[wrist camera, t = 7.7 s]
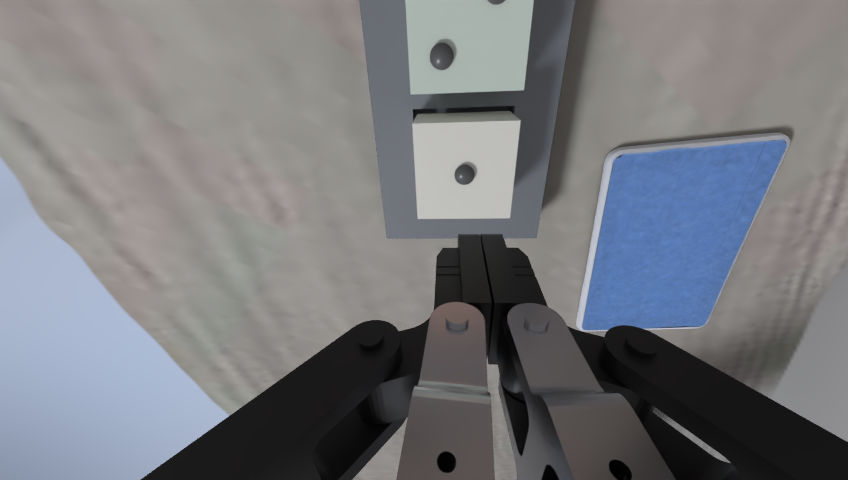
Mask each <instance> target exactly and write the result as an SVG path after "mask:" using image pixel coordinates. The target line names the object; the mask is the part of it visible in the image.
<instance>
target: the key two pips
mask: <svg viewBox="0 0 848 480" xmlns="http://www.w3.org/2000/svg"><path fill="white" fill-rule="evenodd" d="M533 3H534V0H405V4H406V22H407V40H408V58H409V75H410V93H411V95H413V94H439V93H466V92H492V91H519V90H524V86H525V76H526V67H527V58H528V49H529V40H530V31H531V22H532V12H533Z"/></svg>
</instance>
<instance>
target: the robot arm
mask: <svg viewBox="0 0 848 480" xmlns="http://www.w3.org/2000/svg"><path fill="white" fill-rule="evenodd" d="M487 357H488V364H498V367H499V373H500V377H499V386H498V389H499V395H500V399H501V403H502V407H503V411H504V416H505V420H506V424H507V428H508V433H509V437H510V441H511V445H512V450H513V454H514V458H515V463H516V471H517V480H848V442H846V441H844V440H843V439H841V438H839V437H837V436H836V435H834V434H832V433H830V432H828V431H827V430H825V429H823V428H821V427H820V426H818V425H816V424H814V423H812V422H811V421H809V420H807V419H805V418H804V417H802V416H800V415H798V414H796V413H795V412H793V411H791V410H789V409H787V408H786V407H784V406H782V405H780V404H779V403H777V402H775V401H773V400H771V399H770V398H768V397H766V396H764V395H763V394H761V393H759V392H757V391H755V390H754V389H752V388H750V387H748V386H746V385H745V384H743V383H741V382H739V381H738V380H736V379H734V378H732V377H730V376H729V375H727V374H725V373H723V372H721V371H720V370H718V369H716V368H714V367H713V366H711V365H709V364H707V363H705V362H704V361H702V360H700V359H698V358H696V357H695V356H693V355H691V354H689V353H688V352H686V351H684V350H682V349H680V348H679V347H677V346H675V345H673V344H671V343H670V342H668V341H666V340H664V339H663V338H661V337H659V336H657V335H655V334H654V333H652V332H650V331H647V330H645V329H642V328H639V327H635V326H628V325H620V326H615V327H612V328H611V329H609V330H608V331H607V332H606V334H605V337H601V336H597V335H593V334H589V333H585V332H581V331H578V330H575V329H573V328H570V327H568V326H567V325H566V323H565V321H564V320H563V318H562V317H561V316H560V315H559V314H558V313H557V312H556V311H554V310H553V309H551V308H549V307H548V306H547V304H546V301H545V299H544V296H543V294H542V291H541V289H540V286H539V284H538V281H537V279H536V277H535V274H534V271H533V269H532V268H531V264H530V261H529V259H528V256H527V255H525V254H524V253H523V252H522V251H521V250H520V249H519V248H507V247H506V244H505V241H504V238H503V235H502V234H480V235H479V234H458V248H443V249H442V250H441V252H440V253H439V254H438V256H437V264H436V284H435V304H434V311H433V312H432V314H431V316H430V318H429V319H428V320H427V321H426V322H424V323H423V324H421V325H419V326H417V327H414V328H411V329H407V330H403V331H398V330H397V328H396V327H395V326H393V325H392V324H390V323H388V322H386V321H381V320H371V321H366V322H363V323H360V324H358V325H356V326H355V327H353V328H352V329H350V330H349V331H348V332H346V333H345V334H343V335H342V336H341V337H339V338H338V339H336V340H335V341H334V342H332V343H331V344H330V345H328V346H327V347H325V348H324V349H323V350H321V351H320V352H318V353H317V354H316V355H314V356H313V357H311V358H310V359H309V360H307V361H306V362H304V363H303V364H302V365H300V366H299V367H297V368H296V369H295V370H293V371H292V372H290V373H289V374H288V375H286V376H285V377H283V378H282V379H281V380H279V381H278V382H276V383H275V384H274V385H272V386H271V387H269V388H268V389H267V390H265V391H264V392H262V393H261V394H260V395H258V396H257V397H255V398H254V399H253V400H251V401H250V402H248V403H247V404H246V405H244V406H243V407H241V408H240V409H239V410H237V411H236V412H235V413H233V414H232V415H230V416H229V417H228V418H226V419H225V420H223V421H222V422H221V423H219V424H218V425H216V426H215V427H214V428H212V429H211V430H209V431H208V432H207V433H205V434H204V435H202V436H201V437H200V438H198V439H197V440H196V441H194V442H193V443H191V444H190V445H188V446H187V447H186V448H184V449H183V450H181V451H180V452H179V453H177V454H176V455H174V456H173V457H172V458H170V459H169V460H167V461H166V462H165V463H163V464H162V465H160V466H159V467H158V468H156V469H155V470H153V471H152V472H151V473H149V474H148V475H147V476H145V477H144V478H143V479H141V480H352V479H353V478H354V477H355V476H356V475H357V474H358V473H359V471H360V470H361V469H362V468H363V467H364V466H365V465H366V464H367V463H368V462H369V461H370V459H371V458H372V457H373V456H374V455H375V454H376V453H377V452H378V451H379V450H380V449H381V447H382V446H383V445H384V444H385V443H386V442H387V441H388V440H389V439H390V438H391V436H392V435H393V434H394V433H395V432H396V431H397V430H398V429H399V428H400V427H401V425H402V424H403V423H404V421H405V419H406V418H407V417H408V419H407V424H406V430H405V435H404V441H403V446H402V451H401V457H400V462H399V468H398V473H397V479H396V480H495V473H494V452H493V431H492V410H491V397H490V393H489V392H488V385H487ZM655 407H656V408H657V409H659V410H660V411H661V412H663V413H664V414H666V415H667V416H668V417H670V418H671V419H673V420H674V421H675V422H677V423H678V424H680V425H681V426H682V427H684V428H685V429H687V430H688V431H689V432H691V433H692V434H694V435H695V436H696V437H698V438H699V439H701V440H702V441H703V442H705V443H706V444H708V445H709V446H710V447H712V448H713V449H715V450H716V451H717V452H719V453H720V454H722V455H723V456H724V457H725V458H727V459H728V460H729V461H730V462H731V463H727V462H724V461H721V460H719V459H717V458H715V457H713V456H712V455H710V454H709V453H708V452H706V451H705V450H703V449H702V448H701V447H699V446H698V445H697V444H695V443H694V442H692V441H691V440H690V439H688V438H687V437H686V436H684V435H683V434H682V433H680V432H679V431H677V430H676V429H675V428H673V427H672V426H671V425H669V424H668V423H666V422H665V421H664V420H662V419H661V418H660V417H658V416H657V415H655V414H654V413H653V410H654V408H655Z"/></svg>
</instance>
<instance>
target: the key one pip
mask: <svg viewBox="0 0 848 480" xmlns="http://www.w3.org/2000/svg"><path fill="white" fill-rule="evenodd" d="M520 122H521V120H520V119H518V118H517V117H516V116H515V115H514V114H513V113H512V112H510V111H492V112H462V113H432V114H417V116H416V117H415V119H414V121H413V123H412V129H413V146H414V164H415V182H416V200H417V217H418V219H493V218H510V213H511V204H512V195H513V186H514V177H515V168H516V159H517V149H518V140H519V131H520Z"/></svg>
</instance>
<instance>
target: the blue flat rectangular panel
mask: <svg viewBox="0 0 848 480" xmlns="http://www.w3.org/2000/svg"><path fill="white" fill-rule="evenodd" d="M789 145H790V139H789V137H788V136H786V135H784V134H782V133H763V134H751V135H740V136H730V137H720V138H708V139H697V140H687V141H677V142H667V143H657V144H647V145H637V146H627V147H619V148H616V149H614V150H612V151H611V152H609V154H608V155H607V157H606V159H605V163H604V169H603V175H602V181H601V187H600V193H599V199H598V204H597V210H596V216H595V221H594V227H593V233H592V239H591V244H590V250H589V256H588V261H587V267H586V273H585V278H584V283H583V287H582V293H581V298H580V305H579V309H578V316H577V321H576V325H577V327H578V328H579V329H580V330H582V331H608V330H609V329H611V328H612V327H615V326H620V325H628V326H635V327H639V328H642V329H645V330H651V329H687V328H700V327H702V326H704V325H705V324H707V323H708V321H709V319H710V316H711V314H712V312H713V310H714V308H715V305H716V303H717V301H718V299H719V297H720V295H721V292H722V290H723V288H724V285H725V283H726V281H727V279H728V277H729V275H730V272H731V270H732V268H733V266H734V264H735V262H736V259H737V257H738V255H739V253H740V251H741V249H742V246H743V244H744V242H745V240H746V238H747V236H748V233H749V231H750V229H751V227H752V225H753V223H754V221H755V219H756V216H757V214H758V212H759V210H760V208H761V206H762V204H763V201H764V199H765V197H766V195H767V193H768V191H769V189H770V186H771V184H772V182H773V180H774V178H775V176H776V173H777V171H778V169H779V167H780V165H781V163H782V161H783V159H784V157H785V154H786V152H787V150H788V148H789Z"/></svg>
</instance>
